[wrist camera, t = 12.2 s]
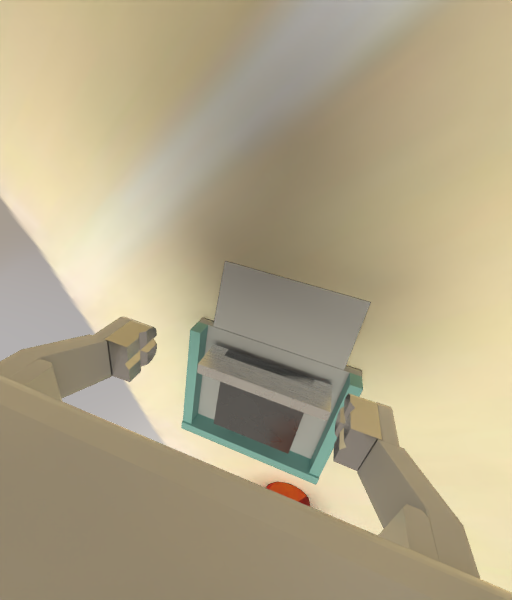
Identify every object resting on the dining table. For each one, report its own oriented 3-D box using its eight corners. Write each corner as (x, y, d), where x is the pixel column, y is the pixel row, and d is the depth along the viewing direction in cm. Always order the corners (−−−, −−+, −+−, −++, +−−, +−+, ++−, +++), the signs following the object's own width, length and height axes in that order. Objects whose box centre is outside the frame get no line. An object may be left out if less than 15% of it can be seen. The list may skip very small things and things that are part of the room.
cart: (216, 340, 25) (198, 363, 22) (332, 380, 23) (330, 412, 20) (207, 406, 29) (190, 434, 26) (305, 445, 27) (300, 480, 24)
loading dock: (213, 253, 24) (194, 264, 21) (389, 302, 21) (396, 324, 18) (197, 404, 33) (181, 428, 30) (319, 453, 30) (315, 484, 27)
